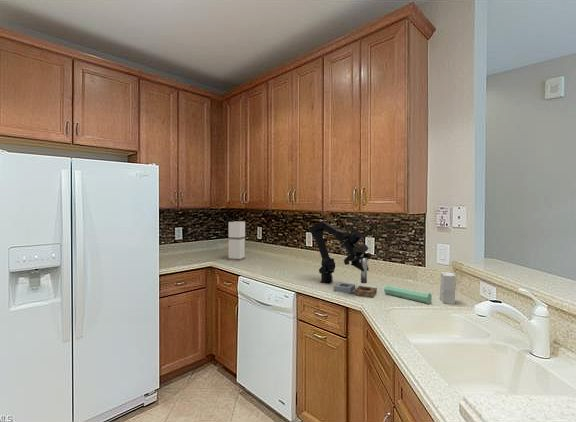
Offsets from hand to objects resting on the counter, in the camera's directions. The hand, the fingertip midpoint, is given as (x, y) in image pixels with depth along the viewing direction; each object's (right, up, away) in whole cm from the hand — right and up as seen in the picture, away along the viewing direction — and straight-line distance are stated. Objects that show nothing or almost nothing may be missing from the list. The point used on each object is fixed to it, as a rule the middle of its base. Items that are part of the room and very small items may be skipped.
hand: (365, 270), depth 169 cm
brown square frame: (0, -14, +1) cm, 14 cm away
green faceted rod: (+21, -14, -5) cm, 26 cm away
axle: (-1, -7, +1) cm, 7 cm away
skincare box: (+40, -14, -11) cm, 44 cm away
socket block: (-10, -13, +9) cm, 19 cm away
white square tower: (-91, -11, +106) cm, 140 cm away
